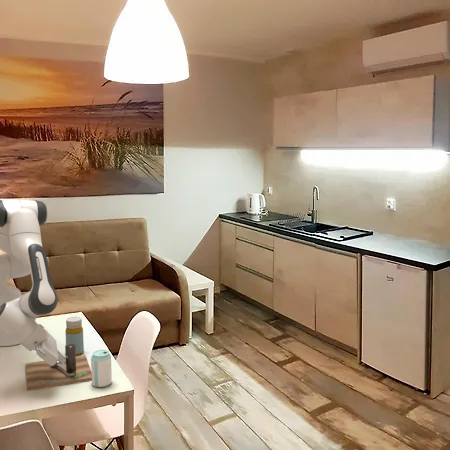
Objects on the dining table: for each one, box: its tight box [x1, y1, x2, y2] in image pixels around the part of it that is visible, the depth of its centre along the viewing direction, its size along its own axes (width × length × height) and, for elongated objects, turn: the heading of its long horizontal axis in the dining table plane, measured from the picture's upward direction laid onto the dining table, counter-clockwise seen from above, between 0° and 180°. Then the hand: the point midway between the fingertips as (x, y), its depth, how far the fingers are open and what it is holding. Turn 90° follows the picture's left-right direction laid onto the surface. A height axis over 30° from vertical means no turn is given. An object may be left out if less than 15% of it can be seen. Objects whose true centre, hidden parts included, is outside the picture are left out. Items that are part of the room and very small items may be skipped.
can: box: [90, 349, 113, 388], centre depth 189 cm, size 7×7×12 cm
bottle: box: [65, 316, 85, 356], centre depth 215 cm, size 7×7×15 cm
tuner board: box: [24, 354, 92, 392], centre depth 198 cm, size 22×23×1 cm
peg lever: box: [51, 344, 77, 377], centre depth 196 cm, size 18×5×12 cm, turn 42°
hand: (64, 360), depth 190 cm, fingers closed
